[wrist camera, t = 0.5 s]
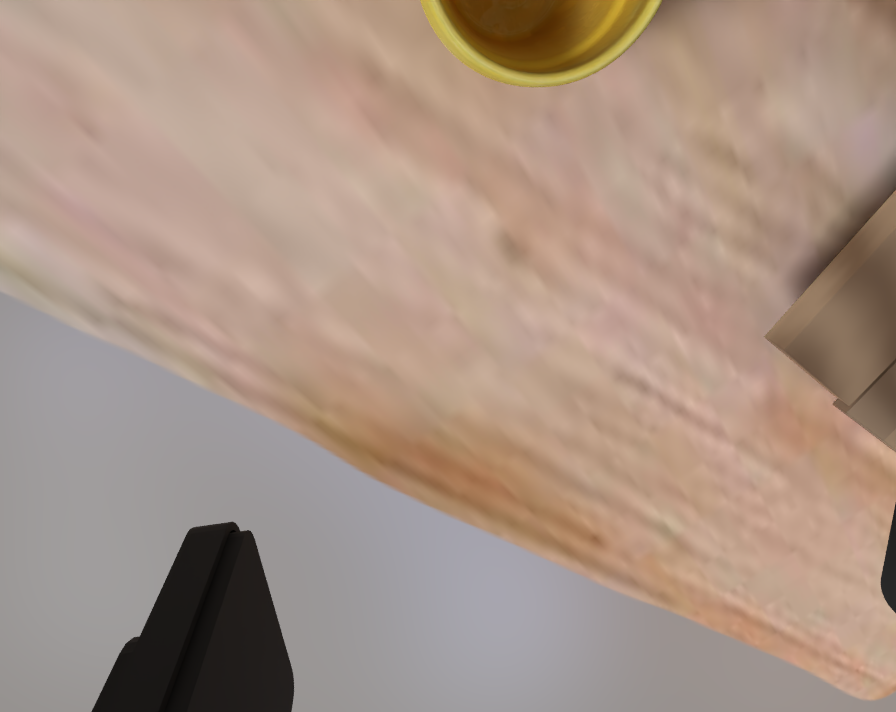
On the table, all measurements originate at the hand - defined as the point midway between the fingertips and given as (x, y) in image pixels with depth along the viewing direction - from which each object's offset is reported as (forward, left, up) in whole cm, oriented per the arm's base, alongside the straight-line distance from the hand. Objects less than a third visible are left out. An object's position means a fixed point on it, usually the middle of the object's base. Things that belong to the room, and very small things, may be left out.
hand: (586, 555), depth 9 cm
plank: (-10, +24, -27) cm, 38 cm away
